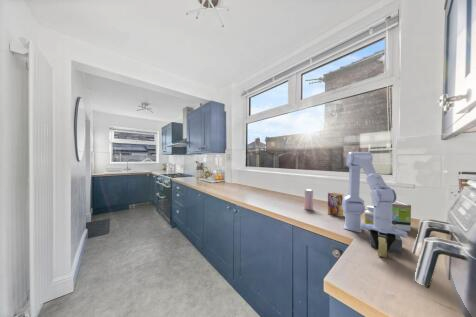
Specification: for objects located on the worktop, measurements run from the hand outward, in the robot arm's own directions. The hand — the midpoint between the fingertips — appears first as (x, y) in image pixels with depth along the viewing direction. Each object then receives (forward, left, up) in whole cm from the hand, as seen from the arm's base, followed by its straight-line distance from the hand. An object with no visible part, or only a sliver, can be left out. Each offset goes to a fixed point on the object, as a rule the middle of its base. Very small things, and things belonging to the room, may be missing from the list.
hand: (381, 249), depth 69 cm
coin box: (-10, +2, -2) cm, 11 cm away
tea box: (-43, +9, -2) cm, 44 cm away
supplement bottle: (-29, -1, -2) cm, 29 cm away
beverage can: (-46, -38, -2) cm, 60 cm away
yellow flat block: (0, 0, -2) cm, 2 cm away
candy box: (-44, -20, -2) cm, 48 cm away
